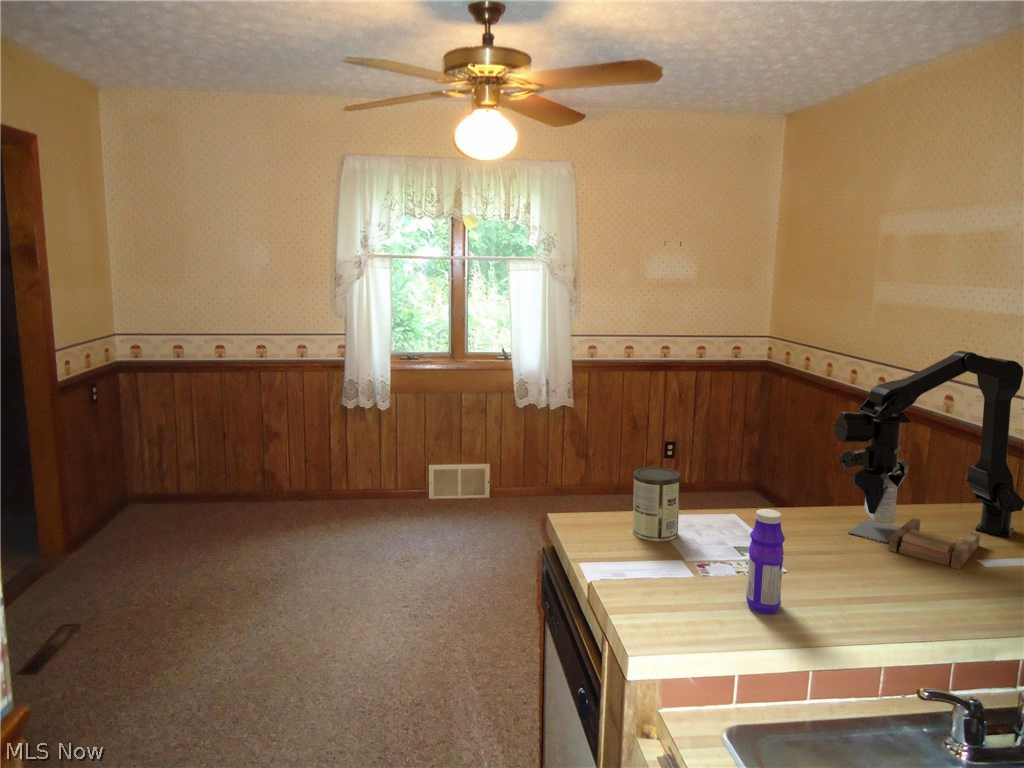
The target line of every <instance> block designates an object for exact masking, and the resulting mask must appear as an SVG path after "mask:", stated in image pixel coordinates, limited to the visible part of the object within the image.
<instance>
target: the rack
mask: <svg viewBox="0 0 1024 768" xmlns="http://www.w3.org/2000/svg"><path fill="white" fill-rule="evenodd" d="M921 520H922V519H921V518H916V517H912V518H911V519H909V520H908V521H907V522H906V523H905V524H904V525H902V526H900V527H901V528H900V529H899V530H898V531H896V532H895V533H894V534H893V535H891V536H890V537H889V542H888V549H887V551H888V550H889V552H891V551H893V552H892V553H895V552H896V553H897V552H899V547H900V546H901V542H902V539H903V535H905V534H906V533H907V532H909V531H910V530H915V531H919V532H920V528H921ZM980 539H981V531H977V530H971V532H970V533H969V534H968V535H967V536H966V537H965V538H964V539H963V540H962V541H961V542H960V543H959V544H958V546H956V547H955V550H954V551H953V552H952V558H951V564H950V567H951V568H954V569H958V570H960V569H961V567H962V566H963V565H964V564H965V563H966V561H968V559H969V558H970V557H971V556H972V555H973V554H974V552H976V550H977V549H978V548H979V546H980Z"/></svg>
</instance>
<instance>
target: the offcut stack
mask: <svg viewBox="0 0 1024 768" xmlns="http://www.w3.org/2000/svg"><path fill="white" fill-rule="evenodd" d="M956 547H957V540H955V539H950V538H947V537H943V536H939V535H935V534H930V533H926V532H923V531H920V530H919V531H915V530H910V531H909V532H907V533H906V534H905V535H903V539H902V542H901V546H900V547H899V550H898V553H900V554H902V553H903V554H902V555H907V556H911V557H915V558H919V559H922V560H927V561H930V562H933V563H938V564H941V565H945V566H951V558H952V552H953V551H954V550H955V549H956Z"/></svg>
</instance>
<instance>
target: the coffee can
mask: <svg viewBox="0 0 1024 768" xmlns="http://www.w3.org/2000/svg"><path fill="white" fill-rule="evenodd" d="M681 477H682V476H681V473H680V472H678V471H677V470H674V469H670V468H665V467H654V466H652V467H651V466H650V467H649V466H648V467H643V468H642V467H641V468H638V469H635V470H634V471H633V504H632V508H633V509H632V510H633V512H632V533H633V535H634V536H635V537H637V538H639V539H641V540H644V541H650V542H663V543H664V542H668V541H669V542H670V541H673V540H675V539H677V538H678V536H679V511H680V488H681V487H680V486H681V485H680V483H681V482H680V480H681Z"/></svg>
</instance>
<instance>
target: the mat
mask: <svg viewBox="0 0 1024 768" xmlns="http://www.w3.org/2000/svg"><path fill="white" fill-rule="evenodd" d="M901 527H902V526H897V525H893V524H891V523H882V522H874V521H873V520H872V519H868V518H866V519H865V520H863V521H862V522H860V523H859V524H857V525H856V526H855V527H853V528H852V529H850V530H849V531H848V532H847V534H848V535H851V534H854V535H853V536H855V535H859V536H862V537H861V538H863V537H867V538H871V539H875V540H879V541H882V542H885V543H884V544H886V543H887V542H888V541H889V537H890V536H891V535H893V534H894V533H895V532H896V531H898V530H899V529H900V528H901ZM859 536H858V537H859ZM867 538H866V539H867ZM871 539H870V540H871ZM882 542H881V543H882ZM888 543H889V542H888ZM888 543H887V544H888Z"/></svg>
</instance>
